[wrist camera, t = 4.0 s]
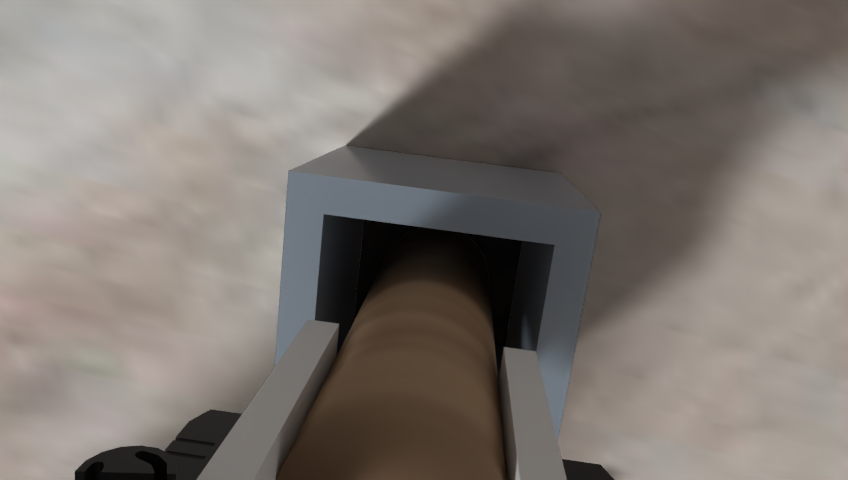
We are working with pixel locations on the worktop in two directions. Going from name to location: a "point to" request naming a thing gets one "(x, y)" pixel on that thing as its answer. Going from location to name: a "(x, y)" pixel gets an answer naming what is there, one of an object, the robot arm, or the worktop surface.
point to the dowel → (412, 375)
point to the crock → (445, 210)
